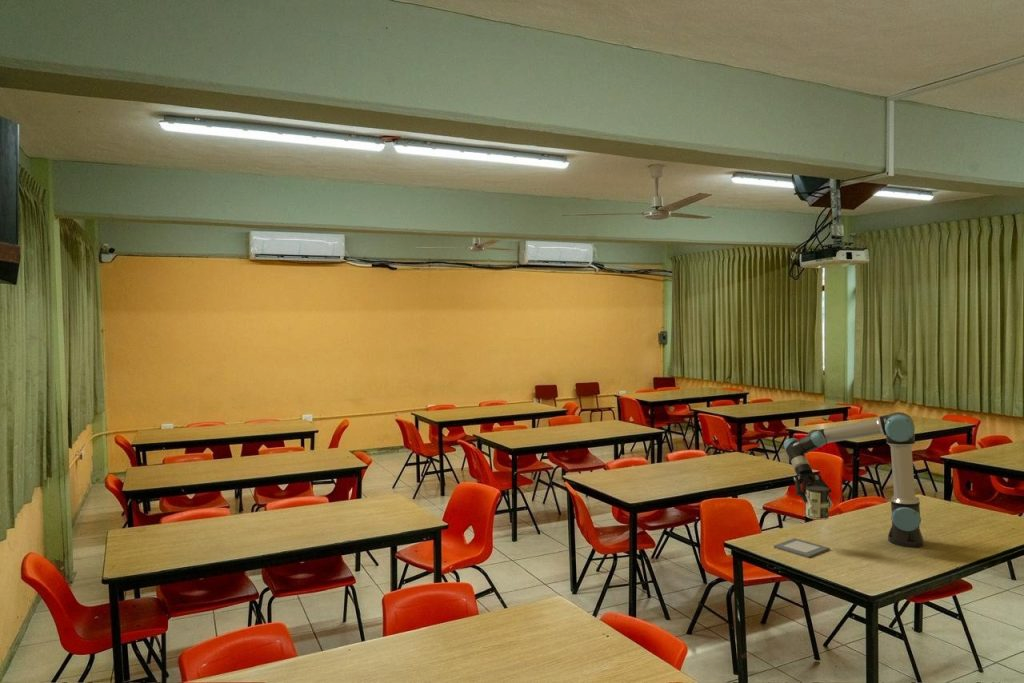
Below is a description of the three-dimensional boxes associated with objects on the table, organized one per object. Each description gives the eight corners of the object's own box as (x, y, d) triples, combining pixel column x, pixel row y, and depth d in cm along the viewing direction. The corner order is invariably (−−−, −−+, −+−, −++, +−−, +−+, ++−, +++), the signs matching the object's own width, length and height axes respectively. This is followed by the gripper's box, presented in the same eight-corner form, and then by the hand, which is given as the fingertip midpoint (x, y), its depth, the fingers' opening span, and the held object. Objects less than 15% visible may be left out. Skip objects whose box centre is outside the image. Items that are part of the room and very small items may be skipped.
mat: (829, 549, 317) (829, 547, 317) (808, 558, 307) (808, 555, 307) (794, 540, 332) (794, 537, 332) (773, 547, 321) (773, 545, 321)
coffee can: (825, 514, 324) (826, 485, 323) (831, 520, 314) (831, 491, 313) (803, 512, 326) (803, 484, 325) (807, 519, 316) (808, 489, 315)
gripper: (819, 470, 336) (838, 509, 321) (778, 471, 332) (796, 512, 317) (825, 462, 331) (846, 502, 316) (784, 463, 327) (802, 504, 312)
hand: (821, 507), depth 317 cm, fingers closed on coffee can, 10 cm apart
